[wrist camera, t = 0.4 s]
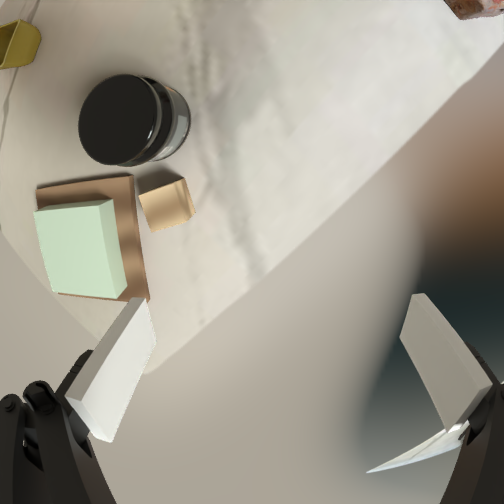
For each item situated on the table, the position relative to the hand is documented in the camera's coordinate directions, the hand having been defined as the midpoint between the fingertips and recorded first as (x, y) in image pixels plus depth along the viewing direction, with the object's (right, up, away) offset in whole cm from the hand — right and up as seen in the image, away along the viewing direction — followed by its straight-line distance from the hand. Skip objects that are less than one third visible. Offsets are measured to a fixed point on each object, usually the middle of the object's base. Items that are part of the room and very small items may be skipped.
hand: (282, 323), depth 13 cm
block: (-12, +11, +25) cm, 29 cm away
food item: (+37, +48, +7) cm, 61 cm away
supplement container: (-14, +21, +21) cm, 33 cm away
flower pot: (-42, +41, +14) cm, 60 cm away
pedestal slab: (-28, +5, +26) cm, 39 cm away
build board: (-28, +5, +27) cm, 40 cm away
